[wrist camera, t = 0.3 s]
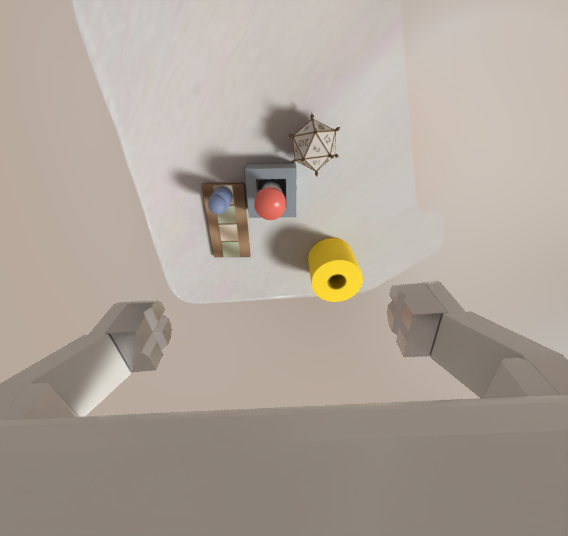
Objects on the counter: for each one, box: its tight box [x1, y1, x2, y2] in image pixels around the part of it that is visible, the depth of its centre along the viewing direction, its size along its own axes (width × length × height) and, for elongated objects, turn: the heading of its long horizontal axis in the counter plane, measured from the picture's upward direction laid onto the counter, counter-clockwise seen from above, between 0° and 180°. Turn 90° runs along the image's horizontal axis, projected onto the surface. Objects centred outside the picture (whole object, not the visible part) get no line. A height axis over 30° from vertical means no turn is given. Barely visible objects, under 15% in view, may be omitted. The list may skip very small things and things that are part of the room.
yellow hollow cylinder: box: [308, 238, 363, 302], centre depth 58 cm, size 10×10×9 cm
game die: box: [288, 114, 340, 176], centre depth 46 cm, size 9×8×10 cm
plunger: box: [254, 182, 286, 220], centre depth 48 cm, size 5×5×7 cm
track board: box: [202, 183, 250, 257], centre depth 57 cm, size 16×8×1 cm, turn 1°
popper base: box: [245, 163, 296, 218], centre depth 52 cm, size 9×9×4 cm
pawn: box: [208, 186, 233, 214], centre depth 50 cm, size 4×4×7 cm
